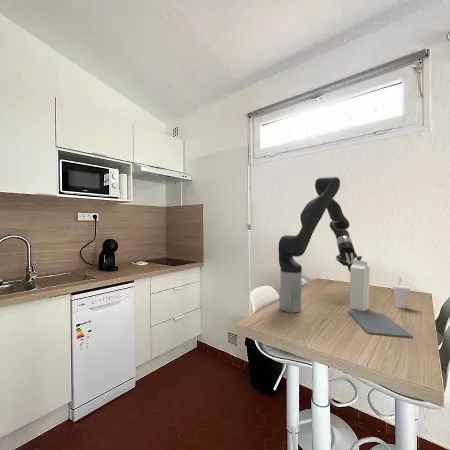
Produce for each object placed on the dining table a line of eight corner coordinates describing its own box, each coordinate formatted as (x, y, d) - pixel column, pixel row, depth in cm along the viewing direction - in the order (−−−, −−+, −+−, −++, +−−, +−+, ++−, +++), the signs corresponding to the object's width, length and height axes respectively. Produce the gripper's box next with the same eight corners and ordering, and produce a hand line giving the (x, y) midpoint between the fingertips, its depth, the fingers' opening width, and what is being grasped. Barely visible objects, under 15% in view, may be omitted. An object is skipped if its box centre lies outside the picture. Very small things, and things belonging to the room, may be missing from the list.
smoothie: (393, 304, 117) (393, 275, 118) (410, 307, 113) (410, 277, 114) (392, 307, 113) (392, 277, 113) (409, 310, 108) (409, 279, 109)
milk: (363, 311, 106) (364, 262, 106) (349, 307, 111) (350, 260, 111) (369, 309, 110) (369, 261, 110) (355, 305, 115) (356, 259, 115)
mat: (412, 337, 81) (412, 336, 81) (367, 333, 84) (367, 332, 84) (382, 314, 103) (382, 313, 103) (347, 312, 105) (347, 310, 105)
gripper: (333, 240, 131) (339, 266, 119) (359, 241, 128) (369, 268, 116) (331, 249, 136) (336, 275, 124) (356, 250, 134) (364, 276, 122)
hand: (352, 271), depth 120 cm, fingers closed
